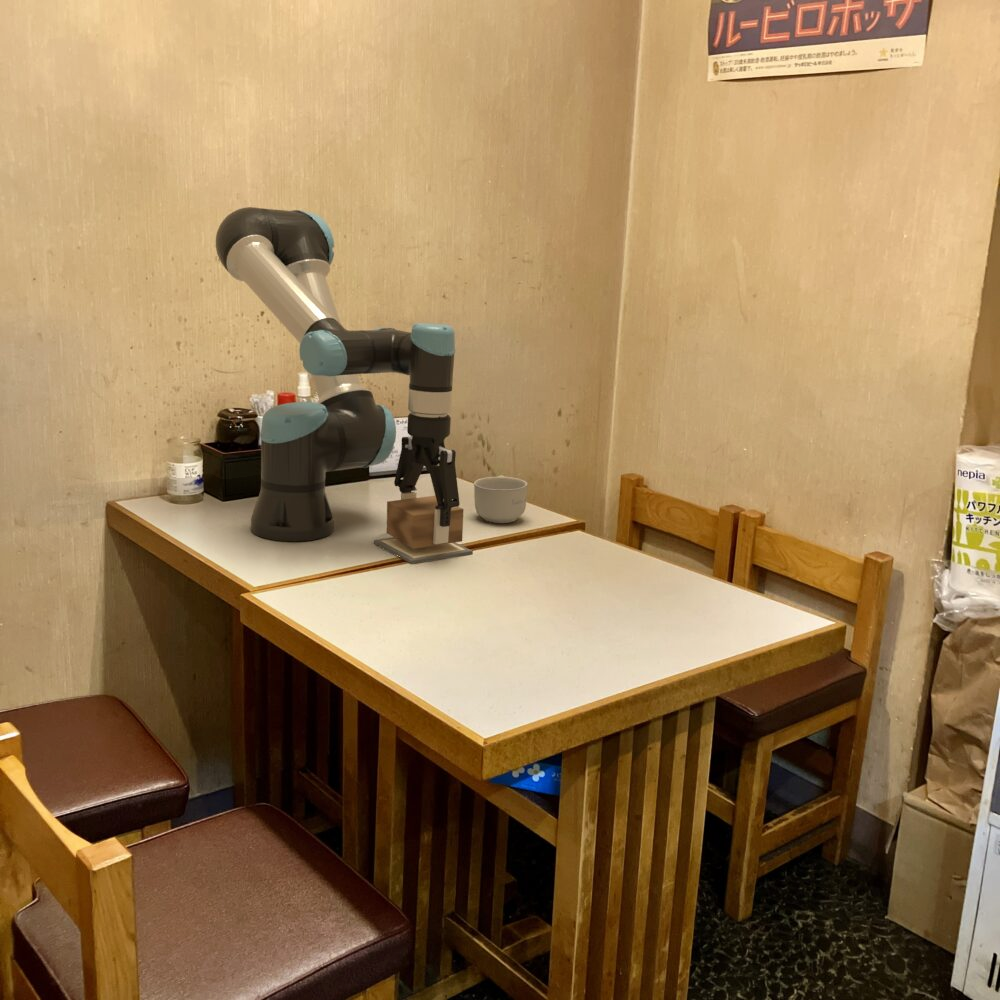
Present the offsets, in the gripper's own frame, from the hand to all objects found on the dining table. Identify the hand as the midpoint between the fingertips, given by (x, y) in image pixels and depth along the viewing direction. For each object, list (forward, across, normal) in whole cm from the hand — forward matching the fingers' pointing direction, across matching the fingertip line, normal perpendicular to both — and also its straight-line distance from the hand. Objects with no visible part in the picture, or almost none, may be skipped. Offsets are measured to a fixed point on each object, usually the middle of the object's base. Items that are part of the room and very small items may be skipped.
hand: (423, 534), depth 180 cm
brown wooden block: (0, 0, 0) cm, 0 cm away
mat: (+3, 0, 0) cm, 3 cm away
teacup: (+3, +11, -26) cm, 28 cm away
